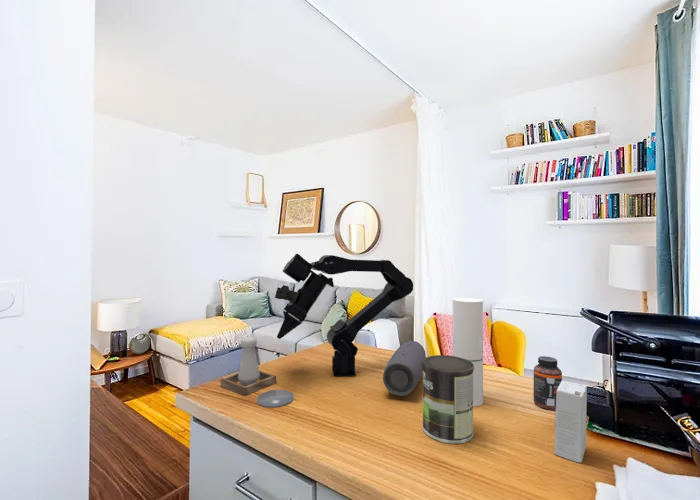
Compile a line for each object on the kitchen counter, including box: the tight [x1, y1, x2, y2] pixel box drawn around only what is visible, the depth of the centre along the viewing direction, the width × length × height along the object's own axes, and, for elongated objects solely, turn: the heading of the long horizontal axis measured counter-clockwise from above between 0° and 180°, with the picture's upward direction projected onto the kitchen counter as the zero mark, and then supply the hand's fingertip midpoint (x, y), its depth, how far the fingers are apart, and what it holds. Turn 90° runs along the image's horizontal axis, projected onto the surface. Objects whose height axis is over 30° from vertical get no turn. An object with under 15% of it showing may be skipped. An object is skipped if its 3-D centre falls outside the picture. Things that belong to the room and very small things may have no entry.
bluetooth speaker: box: [382, 340, 427, 397], centre depth 95 cm, size 23×9×10 cm, turn 161°
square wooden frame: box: [220, 370, 277, 397], centre depth 95 cm, size 11×11×2 cm
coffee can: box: [422, 354, 474, 445], centre depth 71 cm, size 10×10×14 cm
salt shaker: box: [237, 336, 260, 386], centre depth 95 cm, size 6×6×13 cm
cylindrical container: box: [452, 297, 484, 407], centre depth 85 cm, size 7×7×25 cm
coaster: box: [256, 389, 295, 408], centre depth 85 cm, size 9×9×1 cm
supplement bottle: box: [533, 355, 563, 411], centre depth 82 cm, size 6×6×11 cm
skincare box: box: [554, 380, 588, 464], centre depth 63 cm, size 6×4×12 cm
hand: (279, 336), depth 98 cm, fingers open, 9 cm apart
